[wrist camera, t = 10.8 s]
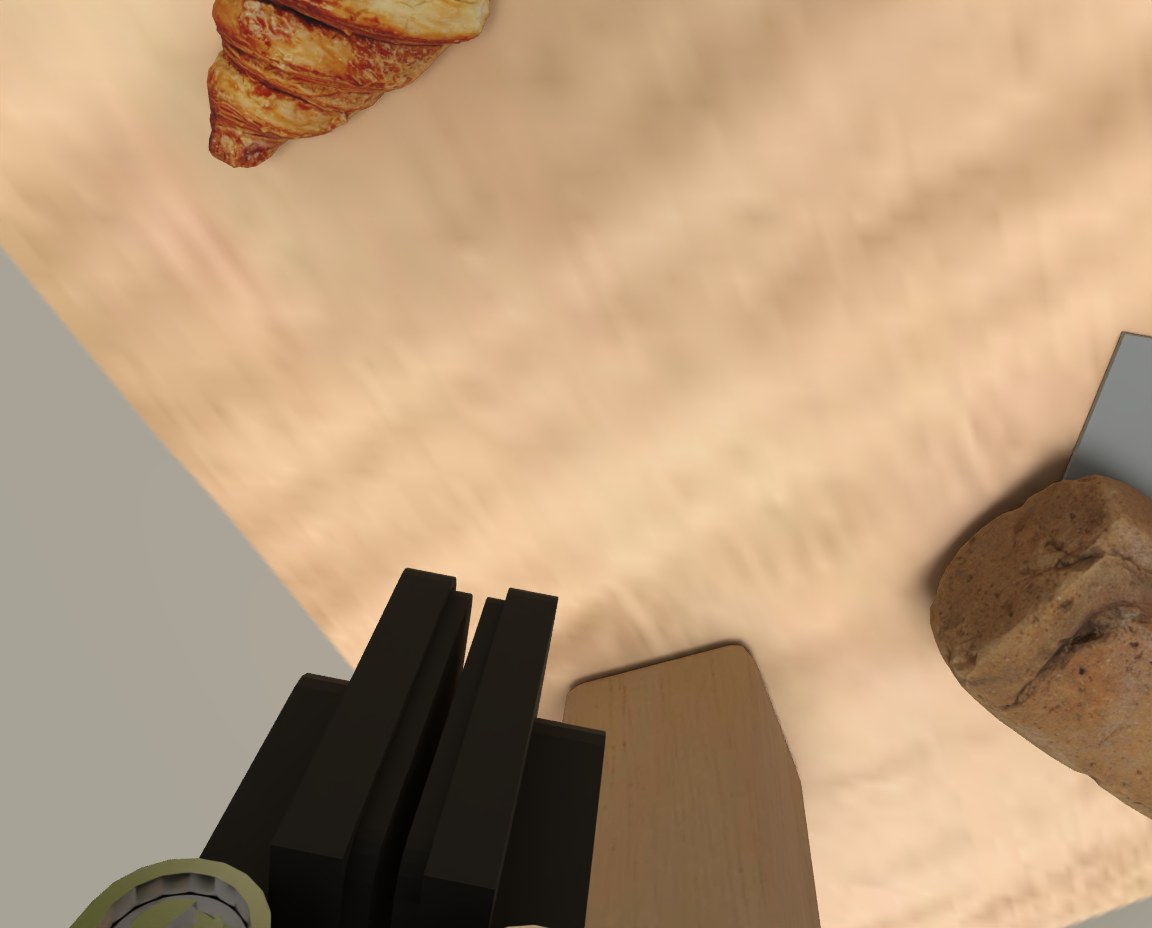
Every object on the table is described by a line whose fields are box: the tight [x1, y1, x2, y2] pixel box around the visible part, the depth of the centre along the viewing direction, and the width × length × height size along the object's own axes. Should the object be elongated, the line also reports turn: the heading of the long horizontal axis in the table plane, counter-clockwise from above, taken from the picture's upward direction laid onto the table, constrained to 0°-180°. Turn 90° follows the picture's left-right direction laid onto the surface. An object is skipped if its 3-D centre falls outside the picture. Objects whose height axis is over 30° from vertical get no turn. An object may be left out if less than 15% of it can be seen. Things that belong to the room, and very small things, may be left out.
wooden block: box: [562, 645, 821, 928], centre depth 46 cm, size 10×10×20 cm
